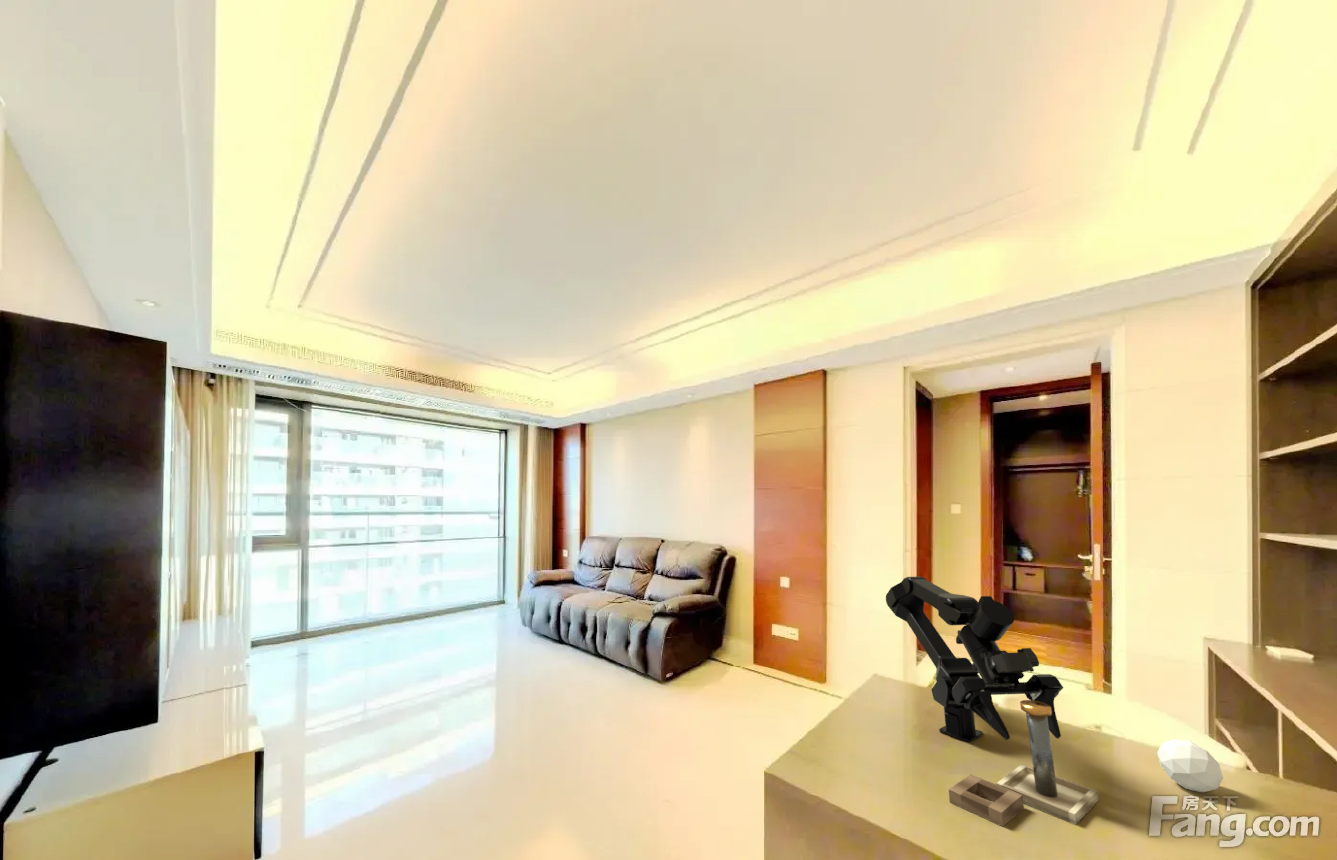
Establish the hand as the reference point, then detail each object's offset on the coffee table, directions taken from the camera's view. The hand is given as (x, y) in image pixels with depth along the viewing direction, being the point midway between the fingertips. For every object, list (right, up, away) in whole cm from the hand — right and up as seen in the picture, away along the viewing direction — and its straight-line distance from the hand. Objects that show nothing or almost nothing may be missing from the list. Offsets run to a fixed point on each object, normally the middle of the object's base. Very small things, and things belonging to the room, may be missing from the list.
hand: (1033, 738), depth 87 cm
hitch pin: (0, -8, -3) cm, 8 cm away
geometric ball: (+27, -8, -1) cm, 28 cm away
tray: (0, -8, -3) cm, 9 cm away
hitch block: (-12, -8, -5) cm, 15 cm away
